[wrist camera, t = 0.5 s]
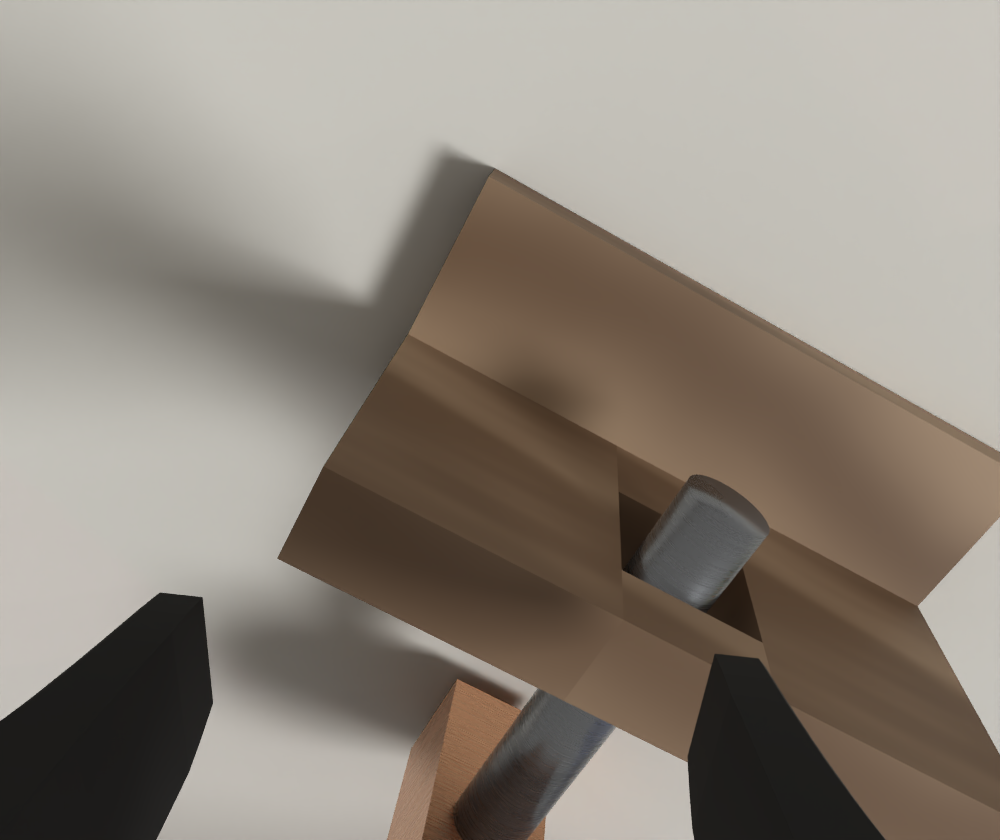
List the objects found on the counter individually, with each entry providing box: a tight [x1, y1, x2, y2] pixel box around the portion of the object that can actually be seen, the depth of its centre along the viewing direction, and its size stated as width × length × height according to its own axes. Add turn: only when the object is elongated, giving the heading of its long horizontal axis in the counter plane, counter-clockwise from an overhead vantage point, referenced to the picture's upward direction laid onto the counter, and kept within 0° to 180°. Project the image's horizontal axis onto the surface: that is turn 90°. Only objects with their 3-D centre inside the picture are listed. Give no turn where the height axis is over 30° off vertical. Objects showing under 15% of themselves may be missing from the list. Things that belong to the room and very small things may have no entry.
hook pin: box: [387, 474, 770, 840], centre depth 21 cm, size 13×3×6 cm, turn 152°
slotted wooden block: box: [277, 169, 1000, 840], centre depth 18 cm, size 6×14×8 cm, turn 62°
